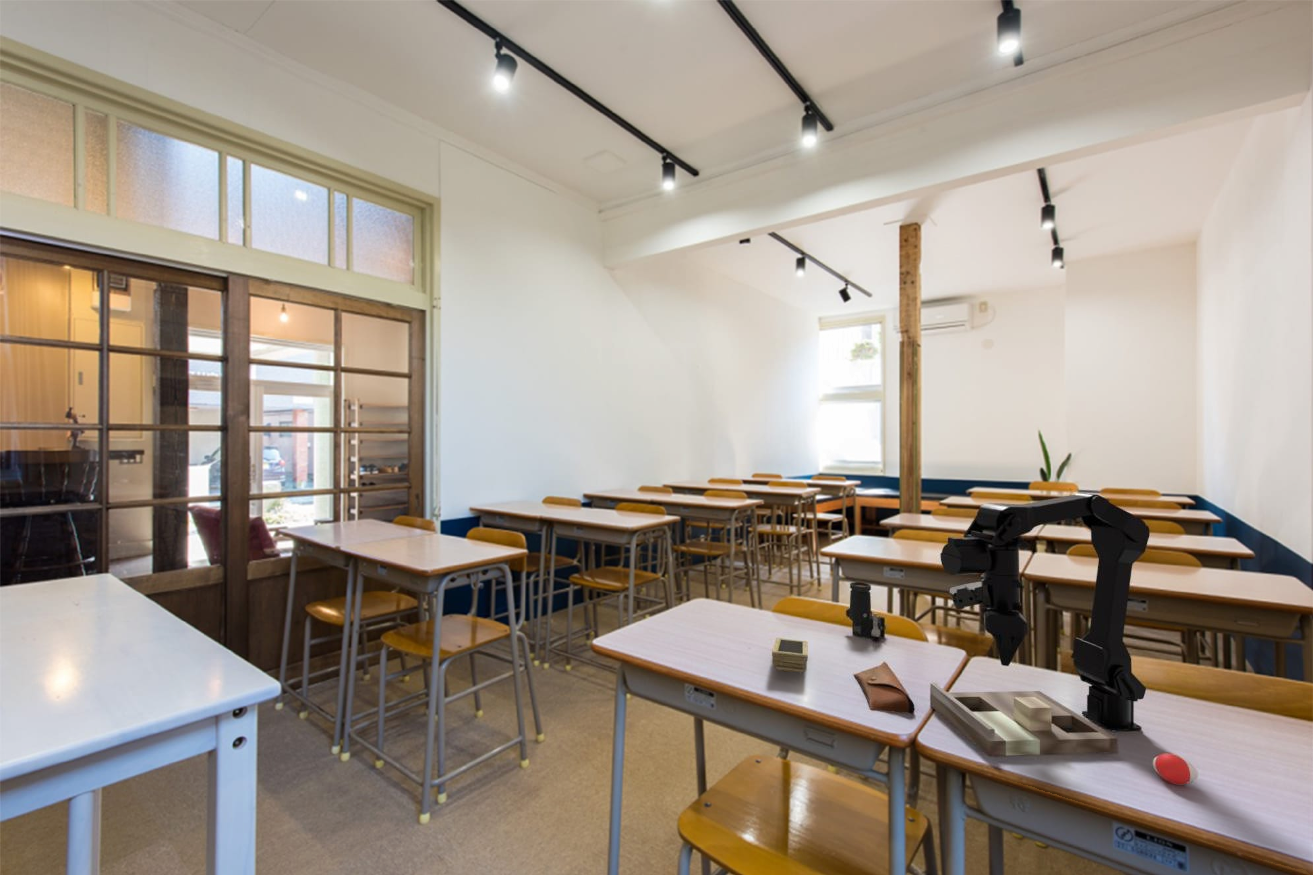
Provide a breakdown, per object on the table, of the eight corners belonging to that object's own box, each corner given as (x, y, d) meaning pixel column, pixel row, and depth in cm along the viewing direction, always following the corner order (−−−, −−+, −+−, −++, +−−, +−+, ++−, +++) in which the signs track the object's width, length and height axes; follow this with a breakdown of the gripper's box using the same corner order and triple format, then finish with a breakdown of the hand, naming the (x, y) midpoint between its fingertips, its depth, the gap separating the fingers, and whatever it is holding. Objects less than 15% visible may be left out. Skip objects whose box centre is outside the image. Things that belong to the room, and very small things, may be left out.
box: (771, 675, 122) (771, 651, 123) (773, 654, 143) (774, 634, 144) (809, 679, 120) (810, 655, 121) (806, 658, 141) (807, 638, 142)
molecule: (1162, 786, 85) (1163, 759, 85) (1148, 769, 90) (1148, 743, 90) (1204, 794, 84) (1204, 766, 84) (1187, 776, 88) (1187, 749, 88)
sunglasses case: (850, 672, 126) (866, 648, 126) (877, 690, 126) (893, 666, 125) (870, 711, 109) (888, 683, 108) (902, 731, 108) (921, 703, 107)
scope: (878, 591, 145) (840, 584, 152) (877, 644, 145) (840, 635, 152) (887, 585, 152) (851, 579, 158) (887, 635, 151) (851, 627, 158)
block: (1034, 718, 101) (1034, 696, 101) (1051, 730, 97) (1051, 707, 97) (1013, 719, 101) (1013, 697, 101) (1029, 730, 97) (1029, 707, 97)
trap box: (1039, 703, 113) (1039, 681, 113) (1117, 752, 95) (1117, 726, 95) (930, 705, 111) (930, 682, 111) (988, 755, 93) (988, 729, 93)
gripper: (951, 558, 114) (953, 633, 114) (951, 579, 98) (953, 667, 98) (1015, 563, 109) (1017, 642, 109) (1026, 586, 93) (1028, 679, 93)
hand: (1002, 656), depth 102 cm, fingers open, 9 cm apart
